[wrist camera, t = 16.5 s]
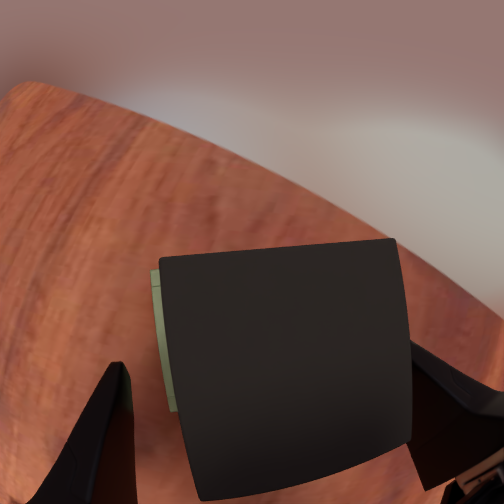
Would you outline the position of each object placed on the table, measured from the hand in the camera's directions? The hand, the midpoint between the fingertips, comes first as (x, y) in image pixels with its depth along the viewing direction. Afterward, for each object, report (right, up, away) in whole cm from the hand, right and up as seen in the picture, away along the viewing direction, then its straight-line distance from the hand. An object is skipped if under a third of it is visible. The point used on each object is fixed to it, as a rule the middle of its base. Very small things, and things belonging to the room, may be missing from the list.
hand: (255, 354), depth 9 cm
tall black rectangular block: (-1, -2, +8) cm, 8 cm away
